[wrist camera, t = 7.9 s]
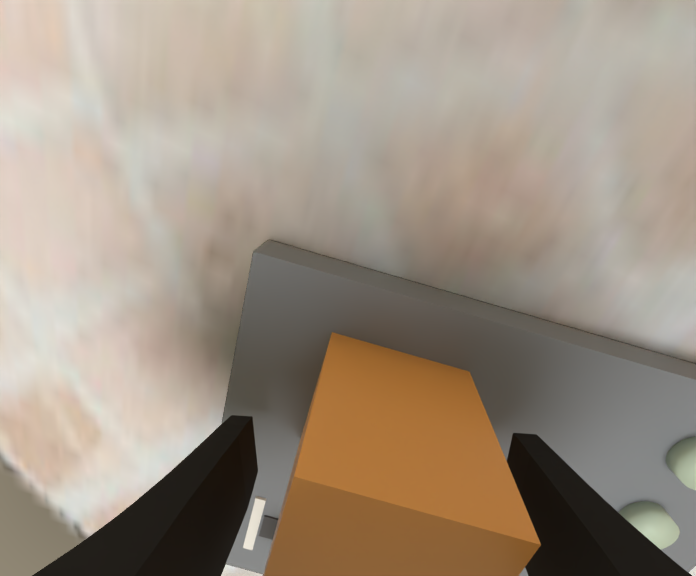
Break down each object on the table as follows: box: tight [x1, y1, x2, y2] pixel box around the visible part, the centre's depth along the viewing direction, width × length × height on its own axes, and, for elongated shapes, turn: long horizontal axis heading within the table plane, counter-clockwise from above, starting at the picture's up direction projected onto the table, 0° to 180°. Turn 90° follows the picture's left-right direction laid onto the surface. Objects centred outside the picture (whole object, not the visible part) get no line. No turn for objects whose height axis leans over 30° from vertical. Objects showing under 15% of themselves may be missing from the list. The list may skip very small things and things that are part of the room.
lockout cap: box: [263, 332, 541, 576], centre depth 9 cm, size 4×4×5 cm
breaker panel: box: [222, 240, 696, 576], centre depth 13 cm, size 18×14×2 cm
